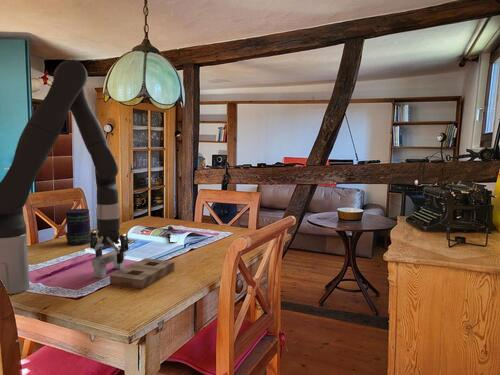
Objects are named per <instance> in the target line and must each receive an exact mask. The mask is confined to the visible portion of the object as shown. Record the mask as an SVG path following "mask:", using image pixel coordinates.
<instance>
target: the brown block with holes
mask: <svg viewBox="0 0 500 375" xmlns="http://www.w3.org/2000/svg"><path fill="white" fill-rule="evenodd" d="M173 271H175V261H173V260H162V259H155V258H147V257H145V258H143V259H141V260H139V261H137V262H134V263H133V264H131V265H128V266H126V267H124V268H122V269H119V270H118V271H116V272H114V273H111V274H110V275H109V284H110V285H112V286H118V287H125V288H131V289H139V290H143V289H145V288H147V287H149V286H150V285H151V284H153V283H155V282H156V281H158V280H160V279H162V278H164V276H167V275H169V274H170V273H171V272H173Z"/></svg>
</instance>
